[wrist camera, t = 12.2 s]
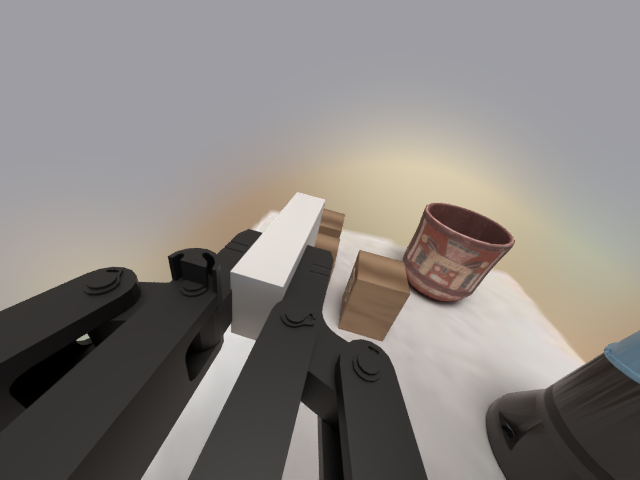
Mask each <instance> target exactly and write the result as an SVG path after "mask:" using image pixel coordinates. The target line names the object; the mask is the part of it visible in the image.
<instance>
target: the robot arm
mask: <svg viewBox="0 0 640 480" xmlns="http://www.w3.org/2000/svg"><path fill="white" fill-rule="evenodd" d="M324 204H325V200H324V199H320V198H317V197H313V196H309V195H306V194H302V193H298V192H297V194H296V195H295V196H294V197H293V198H292V199H291V201H290V202H289V203H288V204H287V205H286V206H285V208H284V209H283V210H282V211H281V212H280V213H279V215H278V216H277V217H276V218H275V219H274V221H273V222H272V223H271V224H270V225H269V226H268V228H267V229H266V230H265V231H264V232H263V233H261V232H257V231H254V230H250V229H248V230H246V231H244V232H241V233H239V234H238V235H236V236H235V237H234V238H233V239H232V240H231V242H229V243H228V244H227V245H226V246H225V248H223V249H222V250H221V251H220V252H219V253H218V254H216V253H214V252H212V251H210V250H208V249H201V248H190V249H184V250H181V251H177V252H175V253H173V254H171V255H170V256H168V259H169V264H170V269H171V274H172V279H173V280H172V281H171V282H170V283H155V282H153V283H152V282H138V279H137V276H136V275H135V273H134V272H133V271H132V270H130V269H126V268H124V267H109V268H103V269H98V270H96V271H92V272H90V273H87V274H85V275H82V276H80V277H77V278H75V279H73V280H71V281H68V282H66V283H64V284H61V285H59V286H57V287H55V288H52V289H50V290H48V291H46V292H43V293H41V294H39V295H37V296H34V297H32V298H30V299H27V300H25V301H23V302H20V303H18V304H16V305H14V306H12V307H9V308H7V309H5V310H2V311H0V480H141V478H142V476H143V475H144V473H145V472H146V470H147V468H148V467H149V465H150V463H151V462H152V460H153V459H154V457H155V455H156V454H157V452H158V450H159V449H160V447H161V446H162V444H163V442H164V441H165V439H166V437H167V436H168V434H169V433H170V431H171V429H172V428H173V426H174V424H175V423H176V421H177V419H178V418H179V416H180V415H181V413H182V411H183V410H184V408H185V406H186V405H187V403H188V402H189V400H190V398H191V397H192V395H193V393H194V392H195V390H196V389H197V387H198V385H199V384H200V382H201V380H202V379H203V377H204V376H205V374H206V372H207V371H208V369H209V367H210V366H211V364H212V363H213V361H214V359H215V358H216V356H217V354H218V353H219V351H220V350H221V347H222V345H223V342H224V337H223V335H224V333H225V331H226V330H227V328H228V327H229V325H230V324H231V333H235V334H238V335H241V336H244V337H247V338H250V339H254V340H256V342H255V344H254V346H253V348H252V350H251V352H250V354H249V356H248V359H247V361H246V363H245V365H244V367H243V369H242V371H241V373H240V375H239V377H238V379H237V381H236V383H235V385H234V387H233V389H232V391H231V393H230V395H229V397H228V399H227V401H226V403H225V405H224V407H223V409H222V411H221V413H220V415H219V417H218V419H217V421H216V423H215V425H214V427H213V429H212V431H211V434H210V436H209V438H208V440H207V442H206V444H205V446H204V448H203V450H202V452H201V454H200V456H199V458H198V460H197V462H196V464H195V466H194V468H193V470H192V472H191V474H190V476H189V478H188V480H281V478H282V474H283V470H284V466H285V462H286V458H287V454H288V450H289V446H290V441H291V437H292V433H293V429H294V425H295V421H296V417H297V413H298V409H299V405H300V401H301V402H302V403H304V404H305V405H306V406H307V407H308V408H310V409H311V410H312V411H313V412H314V413H316V414H317V415H318V450H319V480H428V479H427V475H426V472H425V469H424V466H423V462H422V459H421V456H420V452H419V449H418V446H417V442H416V439H415V436H414V432H413V429H412V426H411V423H410V419H409V416H408V413H407V409H406V406H405V403H404V399H403V396H402V393H401V390H400V386H399V383H398V380H397V376H396V373H395V370H394V367H393V365H392V363H391V360H390V358H389V356H388V355H387V354H386V353H385V352H384V351H383V350H382V349H381V348H380V347H379V346H377V345H376V344H374V343H372V342H370V341H366V340H362V339H360V340H352V341H351V342H347V341H346V340H344V339H343V338H341V337H340V336H338V335H337V334H335V333H334V332H333V331H332V330H331V329H330V328H329V327H328V326H327V325H326V323H325V321H324V319H323V314H322V307H323V303H324V299H325V295H326V291H327V287H328V282H329V278H330V274H331V270H332V266H333V262H334V259H333V256H332V253H331V251H327V250H324V249H320V248H317V247H314V246H315V243H316V239H317V235H318V230H319V226H320V222H321V217H322V213H323V209H324ZM85 334H88V336H89V337H90V338H89V339H86V340H83V341H76V340H77V339H78V338H80V337H81V336H83V335H85ZM487 431H488V436H489V440H490V443H491V446H492V449H493V452H494V454H495V456H496V459H497V461H498V463H499V465H500V467H501V469H502V470H503V472H504V474H505V476H506V477H507V479H508V480H640V331H638V332H636V333H634V334H632V335H631V336H629V337H627V338H625V339H623V340H621V341H620V342H618V343H617V342H616V343H612V344H609V345H608V346H607V347H605V348H604V353H602V354H601V355H599V356H597V357H596V358H594V359H593V360H591V361H589V362H588V363H586V364H584V365H583V366H581V367H580V368H578V369H576V370H575V371H573V372H572V373H570V374H568V375H567V376H565V377H564V378H562V379H560V380H559V381H557V382H556V383H554V384H553V385H551V386H550V387H548V388H546V389H540V390H532V391H524V392H515V393H509V394H506V395H504V396H502V397H501V398H499V399H498V400H496V401H495V402H494V403H493V404H492V405H491V406H490V408H489V410H488V413H487Z"/></svg>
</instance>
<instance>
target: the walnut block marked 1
mask: <svg viewBox="0 0 640 480" xmlns="http://www.w3.org/2000/svg"><path fill="white" fill-rule="evenodd" d="M344 217H345V214H342V213H338V212H334V211H330V210H327V209H323V213H322V217H321V222H320V226H319V230H318V233H320V234H324V235H328V236H331V237H335V238H340V234H341V231H342V226H343V222H344Z"/></svg>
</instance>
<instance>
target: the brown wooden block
mask: <svg viewBox="0 0 640 480" xmlns="http://www.w3.org/2000/svg"><path fill="white" fill-rule="evenodd" d="M339 242H340V239H339V238H335V237H331V236H328V235H324V234H320V233H318V235H317V239H316V243H315V246H314V247H317V248H320V249H324V250H327V251H331V253H332V256H333V259H334V262H333V266H332V270H331V274H330V278H331V275H332V271H333V268H334V265H335V260H336V256H337V251H338V246H339ZM330 278H329V281H330ZM328 285H329V282H328ZM327 288H328V287H327Z"/></svg>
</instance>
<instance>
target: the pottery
mask: <svg viewBox="0 0 640 480" xmlns="http://www.w3.org/2000/svg"><path fill="white" fill-rule="evenodd" d="M514 242H515V240H514V239H513V237H512V235H511V234H510V233H509V232H508V231H507V230H506V229H505V228H504V227H502V226H501V225H499V224H498V223H496V222H495V221H493V220H491V219H489V218H487V217H485V216H483V215H480V214H478V213H476V212H474V211H471V210H468V209H465V208H462V207H458V206H455V205H451V204H444V203H431V204H429V205H427V206H426V208H425V210H424V212H423V215H422V218H421V220H420V223H419V226H418V228H417V230H416V232H415V234H414V236H413V238H412V240H411V242H410V244H409V246H408V247H407V250H406V252H405V255H404V257H403V262H404V266H405V271H406V276H407V280H408V281H409V283H410V284H411V285H412V287H413V288H415V289H416V290H417V291H418V292H419V293H421V294H423V295H425V296H427V297H428V298H431V299H434V300H438V301H457V300H460V299H463V298H465V297H468V296H469V295H471V294H472V293H473V292H474V291H475V289H476V288H477V287H478V285H479V284H480V283H481V282H482V280H483V279H484V278H485V276H486V275H487V274H488V273H489V272H490V270H491V269H492V268H493V267H494V266H495V265H496V264H497V262H498V261H499V260H500V259H501V258H502V257H503V256H504V255H505V254H506V253H507V252H508V251H509V250H510V249H511V248H512V247H513V245H514Z"/></svg>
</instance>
